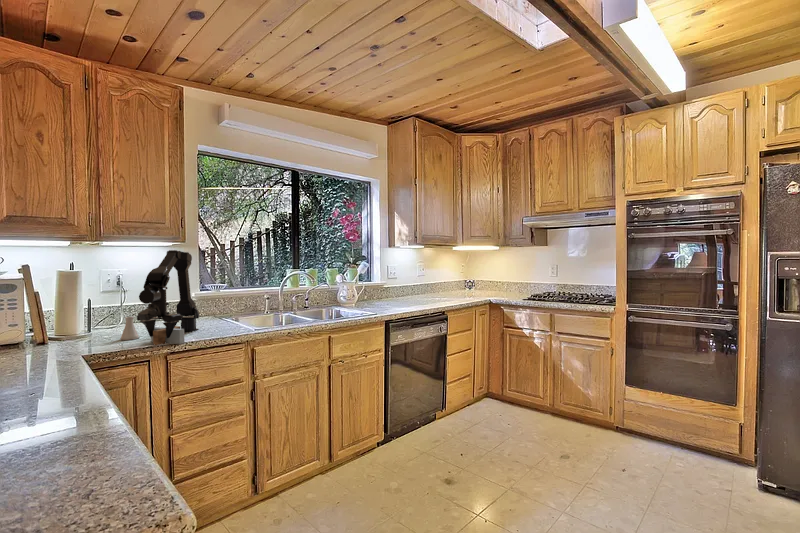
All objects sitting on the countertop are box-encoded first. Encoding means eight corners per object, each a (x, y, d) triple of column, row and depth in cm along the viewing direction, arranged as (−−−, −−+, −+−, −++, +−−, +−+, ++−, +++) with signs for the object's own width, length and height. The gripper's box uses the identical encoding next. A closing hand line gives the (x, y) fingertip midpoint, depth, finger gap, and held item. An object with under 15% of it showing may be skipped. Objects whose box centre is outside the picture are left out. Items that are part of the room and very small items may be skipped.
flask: (117, 339, 188) (116, 317, 187) (133, 336, 194) (133, 315, 194) (126, 341, 184) (125, 318, 184) (142, 338, 191) (142, 316, 190)
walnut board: (176, 339, 187) (175, 326, 187) (180, 339, 187) (180, 326, 186) (153, 345, 176) (152, 330, 176) (157, 345, 175) (157, 331, 175)
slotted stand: (155, 340, 185) (155, 327, 185) (184, 342, 180) (184, 329, 180) (151, 341, 182) (150, 328, 182) (179, 344, 178) (179, 330, 177)
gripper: (124, 302, 172) (125, 339, 172) (159, 303, 166) (160, 342, 167) (148, 299, 182) (149, 334, 183) (181, 300, 177) (182, 337, 177)
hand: (159, 337), depth 177 cm, fingers open, 9 cm apart
